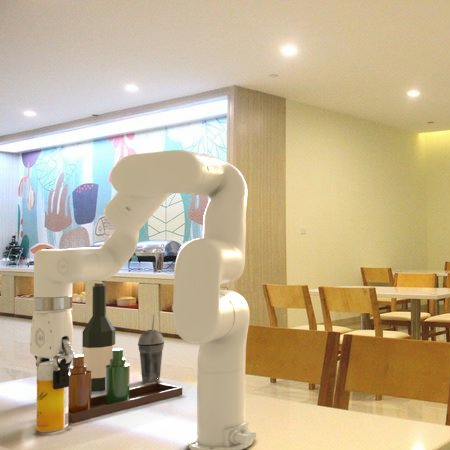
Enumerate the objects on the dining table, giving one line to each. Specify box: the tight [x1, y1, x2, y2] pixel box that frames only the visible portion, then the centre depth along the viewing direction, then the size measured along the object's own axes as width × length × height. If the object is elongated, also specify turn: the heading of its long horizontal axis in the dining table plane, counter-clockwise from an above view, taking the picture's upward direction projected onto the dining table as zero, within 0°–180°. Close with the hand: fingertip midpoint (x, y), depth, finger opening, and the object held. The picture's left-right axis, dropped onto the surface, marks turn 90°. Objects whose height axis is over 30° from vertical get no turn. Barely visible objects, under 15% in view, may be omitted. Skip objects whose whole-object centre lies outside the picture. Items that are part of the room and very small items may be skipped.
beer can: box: [36, 359, 69, 433], centre depth 135 cm, size 6×6×15 cm
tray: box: [68, 381, 183, 424], centre depth 153 cm, size 11×30×3 cm, turn 147°
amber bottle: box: [68, 354, 92, 413], centre depth 144 cm, size 6×6×14 cm
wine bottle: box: [81, 282, 116, 393], centre depth 171 cm, size 8×8×30 cm
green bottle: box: [104, 347, 131, 405], centre depth 153 cm, size 6×6×14 cm
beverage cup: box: [137, 313, 165, 384], centre depth 179 cm, size 7×7×20 cm
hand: (52, 385), depth 135 cm, fingers closed on beer can, 6 cm apart
